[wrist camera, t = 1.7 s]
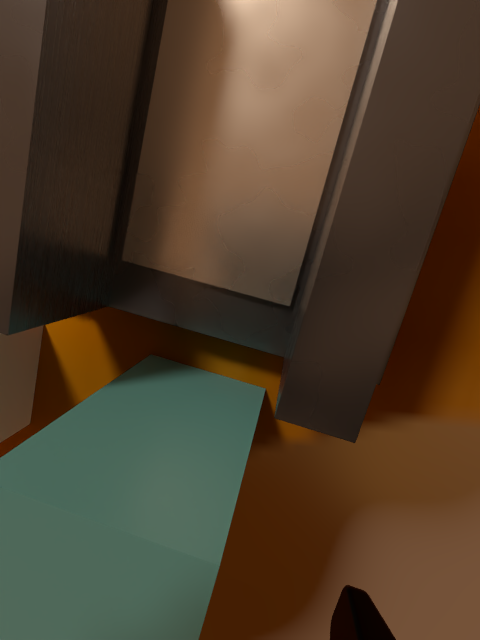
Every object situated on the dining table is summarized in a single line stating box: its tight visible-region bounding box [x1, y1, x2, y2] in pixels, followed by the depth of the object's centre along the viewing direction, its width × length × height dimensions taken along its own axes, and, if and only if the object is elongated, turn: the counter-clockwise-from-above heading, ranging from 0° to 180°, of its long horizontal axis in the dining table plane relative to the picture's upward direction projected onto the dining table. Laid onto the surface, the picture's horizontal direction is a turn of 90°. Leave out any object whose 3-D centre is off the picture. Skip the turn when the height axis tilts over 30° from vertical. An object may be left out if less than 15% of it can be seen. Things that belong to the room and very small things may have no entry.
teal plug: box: [0, 354, 266, 640], centre depth 9 cm, size 4×4×7 cm
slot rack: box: [0, 0, 480, 443], centre depth 9 cm, size 18×11×5 cm, turn 75°
